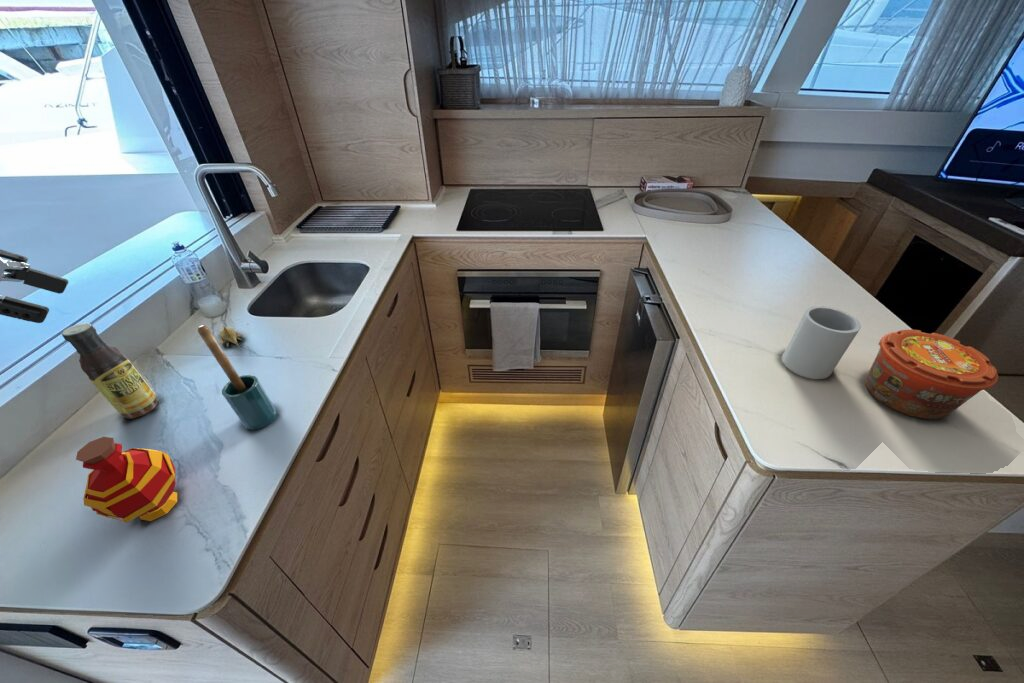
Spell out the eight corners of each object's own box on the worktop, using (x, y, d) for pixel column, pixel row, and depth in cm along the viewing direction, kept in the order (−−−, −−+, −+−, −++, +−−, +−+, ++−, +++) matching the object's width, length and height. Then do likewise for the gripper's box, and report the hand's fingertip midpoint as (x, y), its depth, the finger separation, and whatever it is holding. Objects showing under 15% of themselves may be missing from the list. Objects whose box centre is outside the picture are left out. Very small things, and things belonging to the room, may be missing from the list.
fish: (237, 330, 102) (227, 314, 99) (254, 347, 94) (244, 330, 91) (216, 339, 99) (205, 322, 96) (232, 358, 91) (221, 340, 88)
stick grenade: (267, 417, 76) (211, 328, 63) (250, 423, 75) (189, 334, 62) (266, 407, 78) (211, 318, 65) (249, 413, 77) (190, 324, 64)
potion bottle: (208, 495, 64) (153, 437, 55) (135, 550, 58) (59, 496, 48) (178, 466, 69) (123, 408, 60) (107, 514, 62) (32, 458, 53)
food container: (835, 371, 83) (862, 330, 76) (907, 364, 84) (939, 324, 77) (901, 431, 70) (939, 388, 64) (984, 423, 71) (1031, 380, 64)
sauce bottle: (138, 423, 77) (63, 344, 65) (115, 416, 79) (38, 338, 66) (169, 399, 82) (105, 322, 70) (147, 394, 84) (81, 317, 71)
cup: (777, 348, 89) (799, 303, 82) (823, 354, 87) (850, 309, 80) (787, 375, 82) (813, 329, 75) (837, 382, 80) (868, 335, 73)
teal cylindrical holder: (278, 422, 76) (258, 389, 71) (244, 434, 74) (221, 401, 69) (275, 403, 80) (256, 370, 75) (243, 414, 78) (221, 382, 73)
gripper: (-208, 233, 36) (51, 302, 47) (-114, 192, 46) (81, 257, 57) (-229, 299, 37) (27, 351, 49) (-134, 245, 47) (61, 299, 58)
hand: (56, 300), depth 53 cm, fingers open, 8 cm apart
